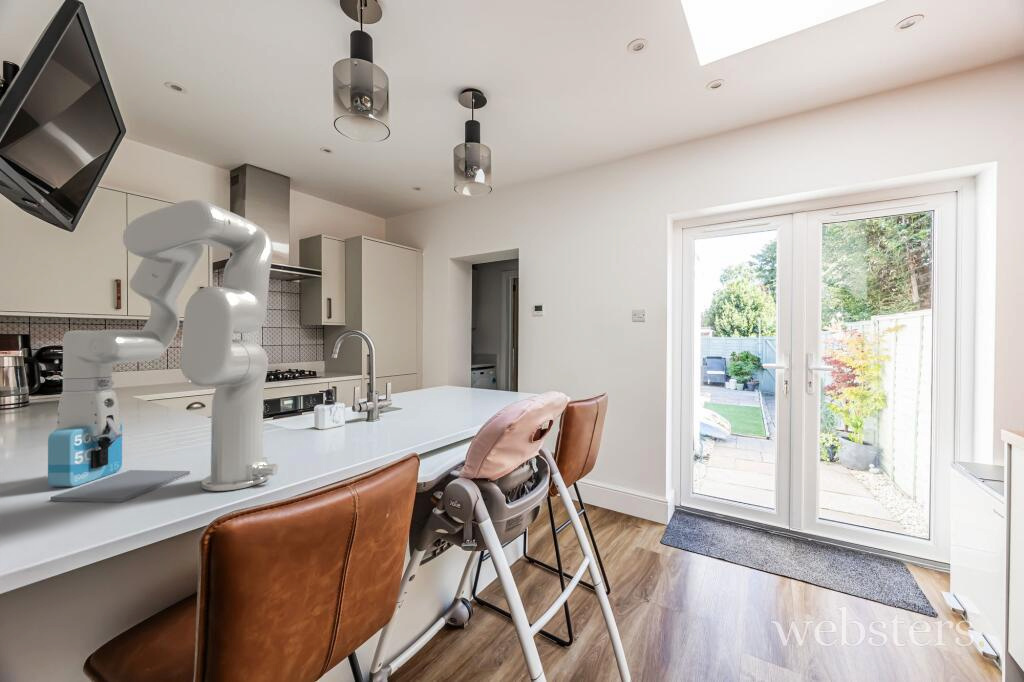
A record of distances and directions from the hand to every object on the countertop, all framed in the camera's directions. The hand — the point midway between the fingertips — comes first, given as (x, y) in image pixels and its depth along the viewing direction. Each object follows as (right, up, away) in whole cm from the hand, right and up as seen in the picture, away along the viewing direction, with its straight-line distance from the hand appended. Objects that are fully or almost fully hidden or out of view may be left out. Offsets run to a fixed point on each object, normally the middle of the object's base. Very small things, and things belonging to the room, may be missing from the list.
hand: (87, 465), depth 89 cm
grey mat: (+13, -3, -4) cm, 14 cm away
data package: (0, -3, 0) cm, 3 cm away
